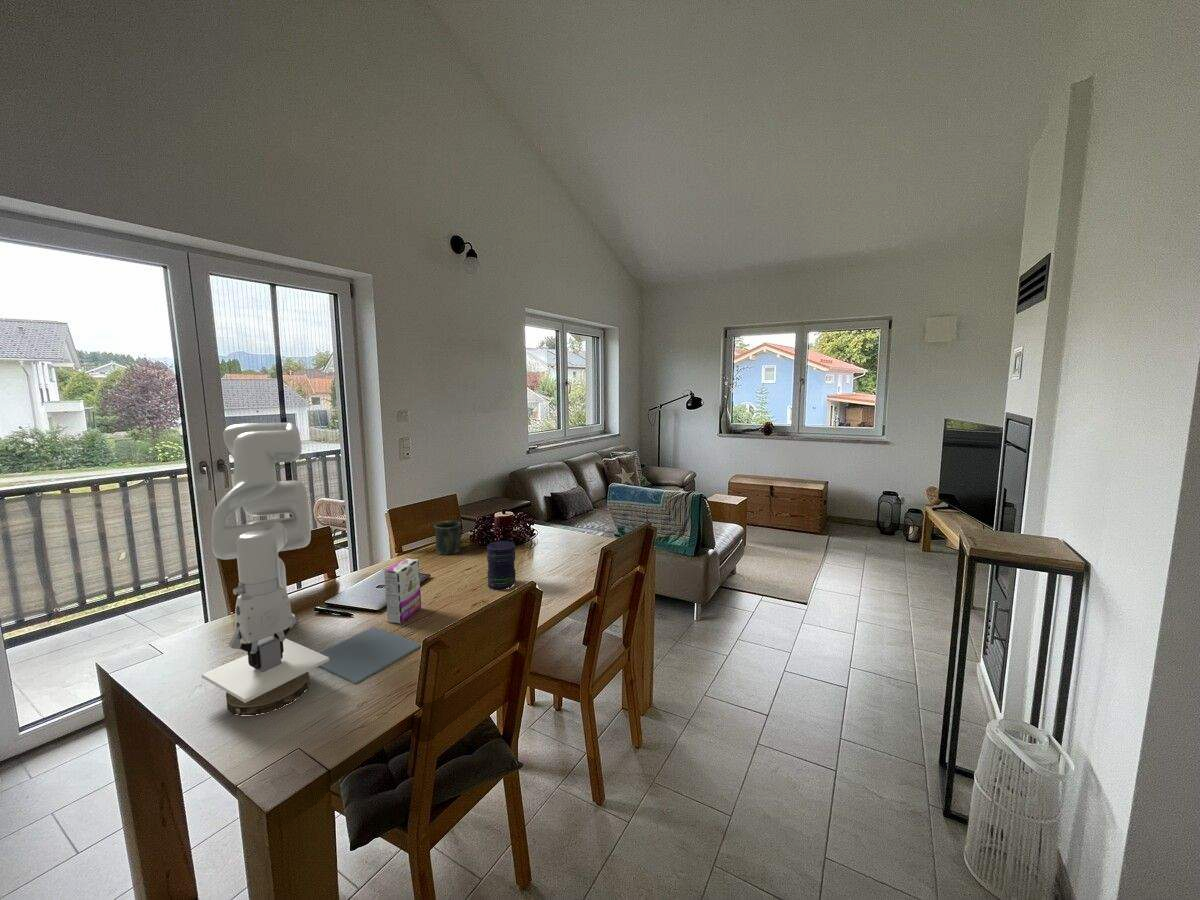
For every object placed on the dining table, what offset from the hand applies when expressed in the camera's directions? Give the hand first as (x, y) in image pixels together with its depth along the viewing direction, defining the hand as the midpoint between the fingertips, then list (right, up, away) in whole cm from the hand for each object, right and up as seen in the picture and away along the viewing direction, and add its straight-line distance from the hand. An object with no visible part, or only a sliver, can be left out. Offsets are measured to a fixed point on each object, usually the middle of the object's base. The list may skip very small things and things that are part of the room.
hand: (266, 661), depth 113 cm
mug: (+12, +5, +100) cm, 101 cm away
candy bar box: (+16, -3, +40) cm, 43 cm away
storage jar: (+41, 0, +64) cm, 76 cm away
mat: (+14, -6, +18) cm, 24 cm away
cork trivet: (0, -9, +1) cm, 9 cm away
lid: (0, -2, 0) cm, 2 cm away
